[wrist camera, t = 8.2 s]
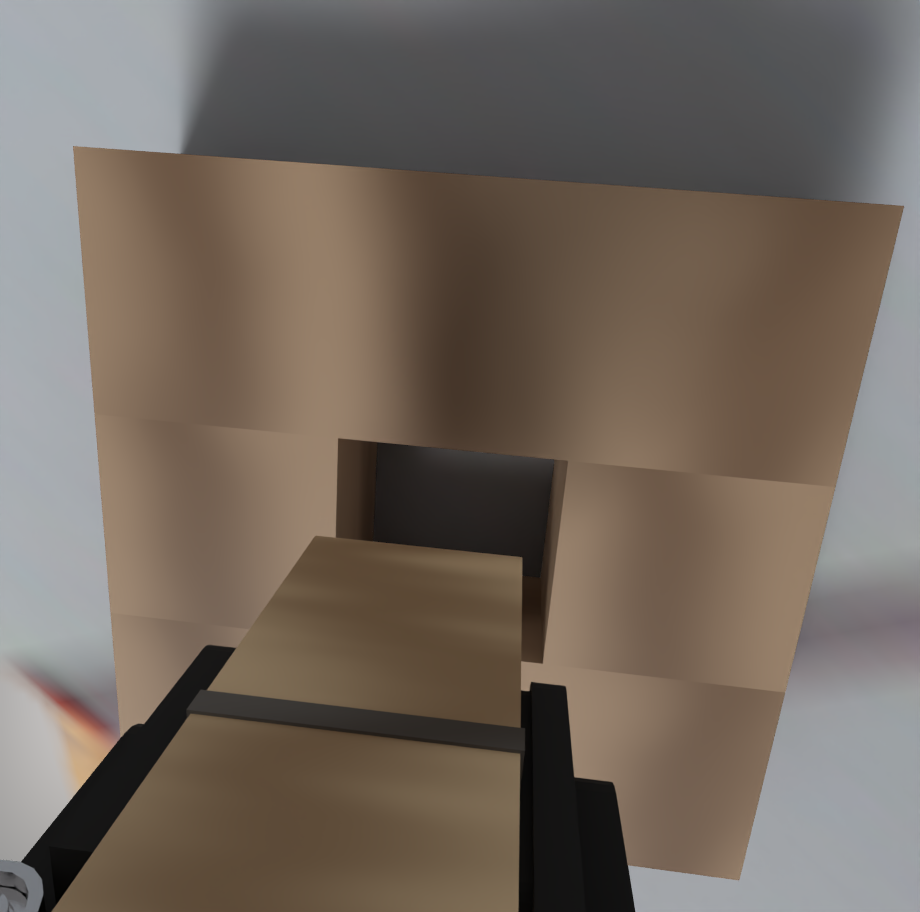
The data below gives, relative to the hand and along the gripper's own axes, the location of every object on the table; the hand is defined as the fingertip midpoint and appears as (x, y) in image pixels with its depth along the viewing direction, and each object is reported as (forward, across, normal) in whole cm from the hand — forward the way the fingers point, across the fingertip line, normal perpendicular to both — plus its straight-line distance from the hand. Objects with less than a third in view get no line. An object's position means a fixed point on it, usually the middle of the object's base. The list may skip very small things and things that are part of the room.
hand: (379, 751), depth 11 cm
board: (+12, 0, 0) cm, 12 cm away
